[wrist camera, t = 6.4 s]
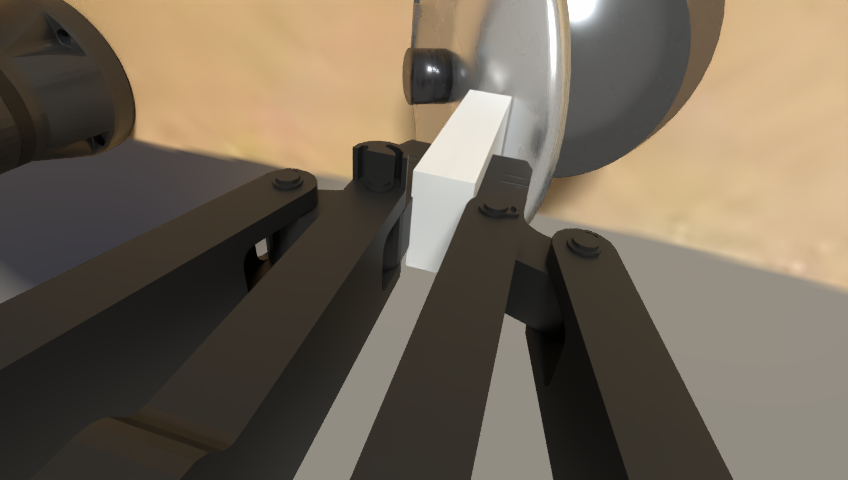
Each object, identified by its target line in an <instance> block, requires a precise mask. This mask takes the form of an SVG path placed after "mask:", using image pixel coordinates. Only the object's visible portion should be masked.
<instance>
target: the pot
mask: <svg viewBox="0 0 848 480" xmlns="http://www.w3.org/2000/svg"><path fill="white" fill-rule="evenodd" d="M415 2H420V0H414V3H415ZM567 2H568V8H569V21H570V34H571V78H570V91H569V104H568V111H567V117H566V124H565V131H564V136H563V140H562V145H561V149H560V153H559V158H558V162H557V165H556V168H555V171H554V174H553V177H552V178H560V177H570V176H575V175H580V174H584V173H587V172H590V171H593V170H596V169H599V168H601V167H604V166H606V165H608V164H610V163H612V162H614V161H616V160H617V159H619V158H621V157H622V156H624V155H626V154H627V153H629V152H630V151H631V150H633V149H634V148H635V147H636V146H638V145H639V144H640V143H642V142H644V141H645V140H647V139H648V138H649V137H651V136H652V135H653V134H655V133H656V132H657V131H659V130H660V129H661V128H662V127H663V126H664V125H665V124H666V123H667V122H668V121H670V120H671V119H672V118H673V117H674V116H675V115H676V114H677V113H678V111H679V110H680V109H681V108H682V107H683V105H684V104H685V103H686V102H687V101H688V99H689V98H690V97H691V95H692V94H693V92H694V91H695V89H696V87H697V86H698V84H699V83H700V81H701V80H702V78H703V76H704V74H705V72H706V70H707V68H708V66H709V64H710V62H711V60H712V57H713V54H714V51H715V48H716V45H717V43H718V40H719V36H720V31H721V26H722V22H723V17H724V5H725V0H567Z"/></svg>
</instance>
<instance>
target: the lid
mask: <svg viewBox="0 0 848 480" xmlns="http://www.w3.org/2000/svg"><path fill="white" fill-rule="evenodd" d="M570 78H571V34H570V21H569V8H568V2H567V0H420V2H415V3H414V5H413V21H412V36H411V48H408V49H407V51H406V53H405V56H404V62H403V88H404V94H405V98H406V100H407V102H408V104H410V105H413V106H414V121H415V131H416V139H417V141H421V142H426V143H431V144H432V143H433V142H434V140H435V139H436V137H437V136H438V135H439V133H440V132H441V130H442V129H443V127H444V126H445V125H446V123H447V122H448V120H449V119H450V117H451V116H452V115H453V113H454V112H455V110H456V109H457V107H458V106H459V105H460V103H461V102H462V100H463V99H464V98H465V96H466V95H467V93H468V92H469V90H476V91H482V92H488V93H494V94H499V95H505V96H511V97H512V99H511V104H510V109H509V114H508V119H507V124H506V130H505V135H504V140H503V145H502V150H501V155H500V156H505V157H510V158H515V159H520V160H525V161H527V162H528V163H529V165H530V166H531V168H532V169H533V171H532V176H531V181H530V186H529V191H528V195H527V200H526V205H525V210H524V218H525V220H526V222H527V223H528V224H530V222H531V221H532V220H533V218H534V216H535V215H536V213H537V211H538V209H539V208H540V206H541V204H542V202H543V200H544V197H545V195H546V193H547V190H548V188H549V186H550V183H551V180H552V177H553V174H554V171H555V168H556V165H557V162H558V158H559V153H560V149H561V145H562V140H563V136H564V131H565V124H566V117H567V111H568V104H569V91H570Z"/></svg>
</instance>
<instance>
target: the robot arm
mask: <svg viewBox="0 0 848 480" xmlns="http://www.w3.org/2000/svg"><path fill="white" fill-rule="evenodd" d="M511 99H512V97H511V96H505V95H499V94H494V93H488V92H482V91H476V90H469V92H468V93H467V95H466V96H465V98H464V99H463V100H462V102H461V103H460V105H459V106H458V107H457V109H456V110H455V112H454V113H453V115H452V116H451V117H450V119H449V120H448V122H447V123H446V125H445V126H444V127H443V129H442V130H441V132H440V133H439V135H438V136H437V137H436V139H435V140H434V142H433V143H432V144H431V143H426V142H421V141H416V140H410V141H407V142H405V143H403V144H400V145H398V144H394V143H391V142H385V141H368V142H364V143H359V144H357V145H356V146H354V147H353V180H352V181H351V182H350V183H349V184H348V185H347V186H346V187H345V188H344V190H318V189H317V179H316V178H315V176H314V175H312V174H310V173H309V172H306V171H302V170H299V169H292V168H286V169H283V170H276V171H273V172H270V173H267V174H265V175H263V176H261V177H259V178H257V179H255V180H253V181H251V182H249V183H247V184H245V185H243V186H240V187H238V188H237V189H234V190H232V191H230V192H228V193H226V194H224V195H222V196H220V197H218V198H216V199H214V200H212V201H210V202H208V203H206V204H204V205H202V206H200V207H198V208H196V209H193V210H191V211H190V212H187V213H185V214H183V215H181V216H179V217H177V218H175V219H173V220H171V221H169V222H167V223H165V224H163V225H161V226H159V227H157V228H155V229H152V230H150V231H149V232H146V233H144V234H142V235H140V236H138V237H136V238H134V239H132V240H130V241H128V242H126V243H124V244H122V245H120V246H118V247H116V248H114V249H112V250H110V251H107V252H105V253H103V254H101V255H99V256H97V257H96V258H93V259H91V260H89V261H87V262H85V263H83V264H81V265H79V266H77V267H75V268H73V269H71V270H69V271H66V272H65V273H62V274H60V275H58V276H56V277H54V278H52V279H50V280H48V281H46V282H44V283H42V284H40V285H38V286H36V287H34V288H32V289H30V290H28V291H26V292H24V293H21V294H19V295H17V296H15V297H13V298H11V299H9V300H7V301H5V302H3V303H1V304H0V480H293V478H294V476H295V474H296V472H297V470H298V468H299V467H300V465H301V463H302V461H303V459H304V457H305V455H306V453H307V451H308V449H309V448H310V446H311V444H312V442H313V440H314V438H315V436H316V434H317V433H318V431H319V429H320V427H321V425H322V423H323V421H324V419H325V417H326V415H327V414H328V412H329V410H330V408H331V406H332V404H333V402H334V400H335V399H336V397H337V395H338V393H339V391H340V389H341V387H342V385H343V383H344V381H345V380H346V377H347V376H348V374H349V372H350V370H351V368H352V366H353V364H354V362H355V361H356V359H357V357H358V355H359V353H360V351H361V349H362V347H363V345H364V343H365V342H366V340H367V338H368V336H369V334H370V332H371V330H372V328H373V326H374V325H375V323H376V321H377V319H378V317H379V315H380V313H381V311H382V309H383V307H384V305H385V304H386V302H387V300H388V298H389V296H390V294H391V292H392V290H393V288H394V287H395V285H396V283H397V281H398V279H399V277H400V272H401V260H402V258H403V256H404V254H405V252H406V251H407V257H406V266H410V267H414V268H418V269H423V270H426V271H430V272H434V273H437V275H436V277H435V280H434V282H433V285H432V287H431V289H430V292H429V294H428V296H427V299H426V301H425V304H424V306H423V308H422V310H421V313H420V315H419V318H418V320H417V322H416V325H415V327H414V330H413V332H412V334H411V337H410V339H409V341H408V344H407V346H406V348H405V351H404V353H403V356H402V358H401V360H400V362H399V365H398V367H397V370H396V372H395V374H394V377H393V379H392V381H391V384H390V386H389V388H388V391H387V393H386V396H385V398H384V401H383V403H382V405H381V407H380V410H379V412H378V415H377V417H376V419H375V422H374V424H373V426H372V429H371V431H370V433H369V436H368V438H367V441H366V443H365V445H364V448H363V450H362V452H361V455H360V457H359V460H358V462H357V464H356V467H355V469H354V471H353V474H352V476H351V478H350V480H471V475H472V470H473V465H474V460H475V455H476V450H477V446H478V441H479V436H480V431H481V426H482V421H483V416H484V411H485V406H486V402H487V397H488V392H489V387H490V382H491V377H492V372H493V367H494V362H495V358H496V353H497V348H498V343H499V338H500V333H501V328H502V323H503V318H504V313H506V314H508V315H509V316H511V317H513V318H515V319H517V320H519V321H521V322H523V323H525V324H526V331H525V334H526V339H527V344H528V350H529V354H530V360H531V365H532V371H533V376H534V381H535V386H536V391H537V397H538V402H539V407H540V412H541V418H542V423H543V428H544V433H545V438H546V444H547V449H548V454H549V460H550V464H551V469H552V475H553V480H733V478H732V476H731V474H730V473H729V470H728V469H727V467H726V465H725V463H724V461H723V459H722V457H721V455H720V453H719V451H718V449H717V447H716V445H715V443H714V441H713V439H712V437H711V435H710V433H709V431H708V430H707V427H706V425H705V424H704V421H703V419H702V417H701V415H700V413H699V411H698V410H697V407H696V406H695V404H694V402H693V400H692V398H691V396H690V394H689V392H688V390H687V388H686V386H685V384H684V382H683V380H682V378H681V376H680V374H679V372H678V370H677V369H676V366H675V364H674V362H673V360H672V358H671V356H670V354H669V353H668V350H667V349H666V347H665V345H664V343H663V341H662V339H661V337H660V335H659V333H658V331H657V329H656V327H655V325H654V323H653V321H652V319H651V317H650V315H649V313H648V311H647V309H646V307H645V305H644V303H643V301H642V300H641V297H640V295H639V294H638V292H637V290H636V288H635V286H634V284H633V282H632V280H631V278H630V276H629V274H628V272H627V270H626V268H625V266H624V264H623V262H622V260H621V258H620V256H619V254H618V252H617V250H616V249H615V247H614V246H613V245H612V244H611V243H610V242H609V241H608V240H606V239H605V238H603V237H602V236H600V235H599V234H597V233H593V232H592V231H588V230H582V229H564V230H560V231H558V232H556V233H555V234H554V236H553V237H552V238H550V237H548V236H545V235H543V234H541V233H540V232H538V231H536V230H535V229H533V228H532V227H531V226H530V225H529V224H528V223H527V222H526V220H525V218H524V210H525V205H526V200H527V195H528V191H529V186H530V181H531V176H532V171H533V169H532V168H531V166H530V165H529V163H528V162H527V161H525V160H520V159H515V158H510V157H505V156H500V155H501V150H502V145H503V140H504V135H505V130H506V124H507V119H508V114H509V109H510V104H511ZM133 119H134V105H133V98H132V94H131V90H130V86H129V83H128V80H127V78H126V75H125V73H124V70H123V68H122V66H121V64H120V62H119V60H118V59H117V57H116V55H115V54H114V52H113V50H112V49H111V47H110V46H109V44H108V43H107V42H106V40H105V39H104V38H103V36H102V35H101V34H100V33H99V31H98V30H97V29H96V28H95V27H94V26H93V25H92V24H91V23H90V22H89V21H88V20H87V19H86V18H85V17H84V16H83V15H82V14H81V13H80V12H78V11H77V10H76V9H75V8H73V7H72V6H70V5H69V4H68V3H66V2H64V1H63V0H0V174H2V173H5V172H7V171H10V170H12V169H14V168H17V167H19V166H21V165H24V164H27V163H29V162H32V161H40V160H50V159H62V158H73V157H84V156H92V155H96V154H99V153H102V152H104V151H106V150H109V149H111V148H113V147H115V146H117V145H119V144H120V143H122V142H123V141H124V140H125V139H126V138H127V136H128V135H129V133H130V131H131V128H132V125H133ZM265 238H266V244H267V251H268V252H267V253H265V254H264V255H262V256H259V257H258V256H257V253H256V247H255V244H257V243H258V242H260V241H261V240H263V239H265Z"/></svg>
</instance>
